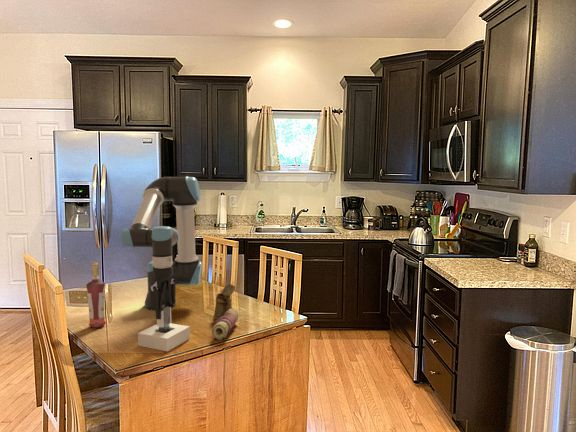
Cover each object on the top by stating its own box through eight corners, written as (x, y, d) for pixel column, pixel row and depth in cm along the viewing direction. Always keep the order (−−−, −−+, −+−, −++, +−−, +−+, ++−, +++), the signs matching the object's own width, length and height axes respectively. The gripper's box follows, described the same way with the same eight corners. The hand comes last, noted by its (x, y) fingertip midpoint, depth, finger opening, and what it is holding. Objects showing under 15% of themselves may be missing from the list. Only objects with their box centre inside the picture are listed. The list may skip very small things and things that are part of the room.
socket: (138, 345, 168) (137, 333, 167) (162, 333, 181) (162, 321, 180) (167, 351, 162) (167, 338, 162) (190, 338, 175) (189, 326, 175)
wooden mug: (221, 326, 189) (220, 285, 188) (210, 317, 201) (210, 279, 199) (240, 322, 194) (239, 283, 192) (228, 314, 206) (228, 276, 204)
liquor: (105, 328, 186) (103, 264, 183) (87, 330, 184) (84, 265, 181) (107, 322, 193) (105, 260, 190) (89, 324, 191) (86, 261, 188)
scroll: (221, 319, 194) (205, 336, 174) (227, 305, 193) (212, 320, 173) (236, 327, 193) (221, 344, 173) (242, 313, 192) (229, 329, 172)
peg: (157, 337, 170) (156, 307, 169) (163, 333, 174) (163, 304, 173) (165, 338, 169) (164, 308, 167) (171, 335, 172) (171, 305, 171)
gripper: (155, 271, 159) (157, 333, 161) (184, 263, 175) (185, 319, 177) (139, 269, 162) (141, 330, 164) (169, 261, 178) (170, 316, 180)
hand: (164, 324), depth 171 cm, fingers closed on peg, 4 cm apart
